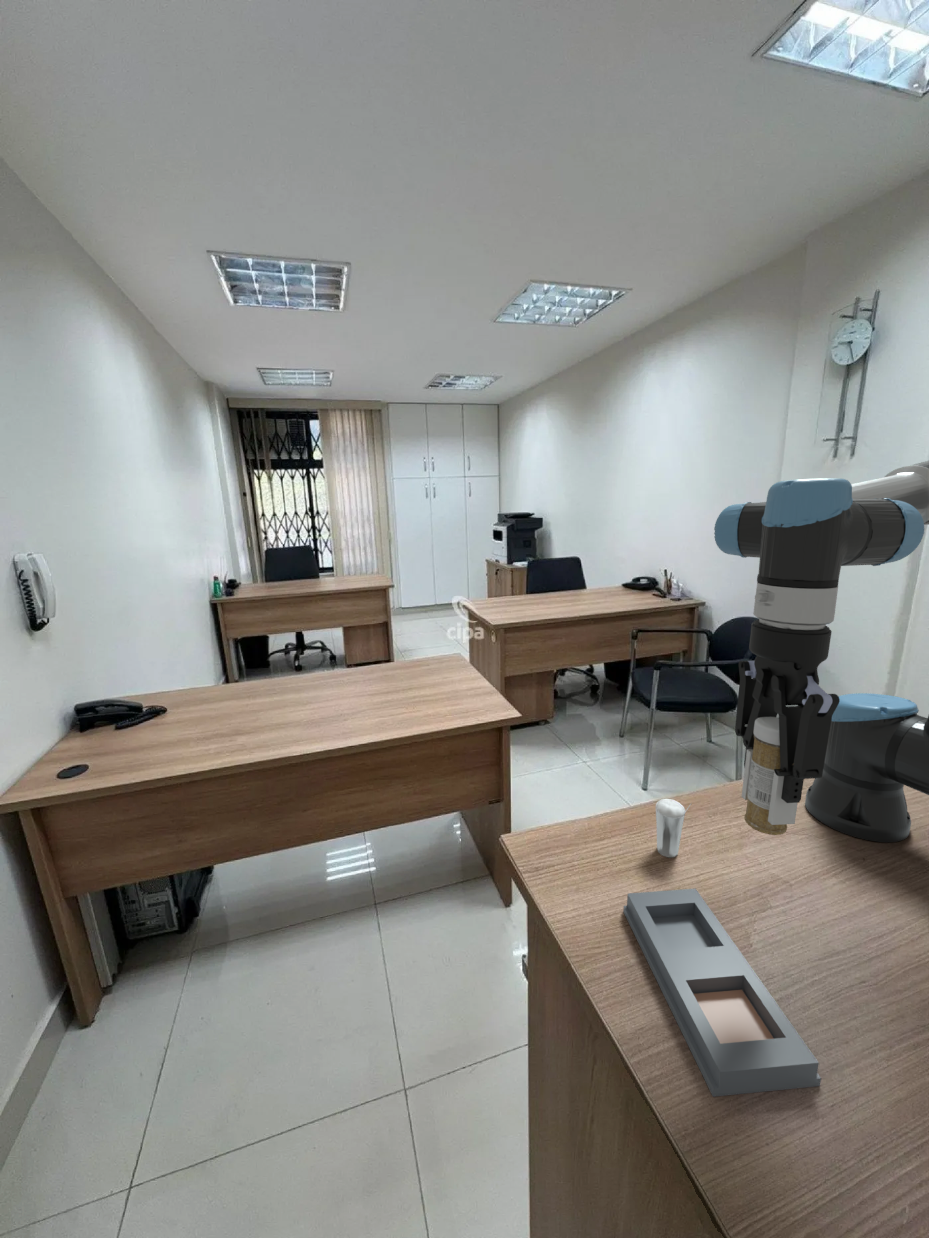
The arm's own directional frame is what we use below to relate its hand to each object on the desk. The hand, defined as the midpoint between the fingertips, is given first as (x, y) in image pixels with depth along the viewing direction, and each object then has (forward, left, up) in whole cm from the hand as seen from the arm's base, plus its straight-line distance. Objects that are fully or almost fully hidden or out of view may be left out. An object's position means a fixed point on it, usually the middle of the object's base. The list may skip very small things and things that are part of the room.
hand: (766, 809), depth 60 cm
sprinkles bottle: (0, 0, -2) cm, 2 cm away
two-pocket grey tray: (+9, +4, -20) cm, 22 cm away
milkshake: (+2, -19, -21) cm, 28 cm away
